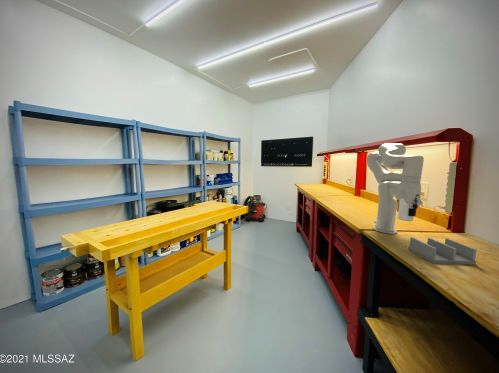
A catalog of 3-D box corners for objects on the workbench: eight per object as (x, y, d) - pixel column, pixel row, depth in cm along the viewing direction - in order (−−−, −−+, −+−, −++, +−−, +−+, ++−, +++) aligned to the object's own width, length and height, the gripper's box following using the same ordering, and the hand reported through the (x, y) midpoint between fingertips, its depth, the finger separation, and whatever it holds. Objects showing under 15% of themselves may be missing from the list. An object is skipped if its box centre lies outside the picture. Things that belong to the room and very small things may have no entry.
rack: (408, 249, 93) (409, 236, 92) (444, 250, 93) (446, 238, 92) (433, 263, 80) (435, 248, 80) (475, 264, 80) (478, 250, 79)
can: (406, 221, 95) (409, 198, 93) (394, 217, 101) (397, 195, 99) (416, 221, 96) (420, 198, 94) (404, 217, 102) (407, 195, 101)
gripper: (390, 178, 104) (386, 209, 107) (418, 181, 87) (412, 219, 90) (404, 178, 104) (400, 209, 107) (434, 182, 87) (428, 219, 90)
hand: (406, 213), depth 98 cm, fingers closed on can, 6 cm apart
